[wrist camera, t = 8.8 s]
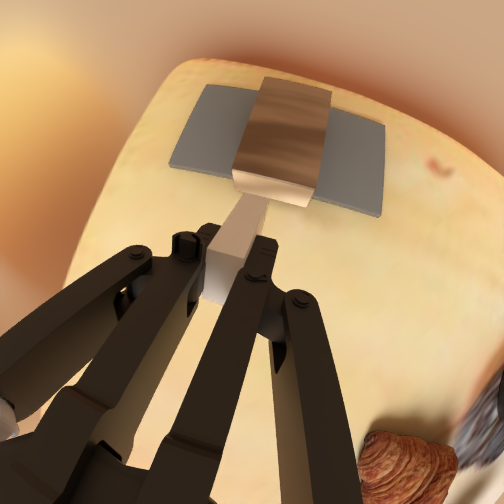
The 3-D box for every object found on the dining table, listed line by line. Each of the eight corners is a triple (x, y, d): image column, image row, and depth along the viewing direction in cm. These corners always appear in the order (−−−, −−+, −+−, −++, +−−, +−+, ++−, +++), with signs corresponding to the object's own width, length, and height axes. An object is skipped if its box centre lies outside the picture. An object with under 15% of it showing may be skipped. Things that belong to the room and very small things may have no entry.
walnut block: (315, 190, 21) (331, 91, 23) (230, 170, 22) (264, 76, 24) (306, 208, 25) (324, 114, 27) (234, 190, 25) (263, 100, 28)
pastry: (469, 421, 21) (507, 437, 13) (422, 510, 18) (447, 535, 10) (366, 426, 22) (401, 460, 14) (317, 523, 19) (330, 564, 11)
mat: (378, 217, 26) (381, 215, 25) (170, 167, 27) (168, 163, 26) (382, 129, 28) (384, 125, 27) (207, 88, 29) (206, 84, 28)
